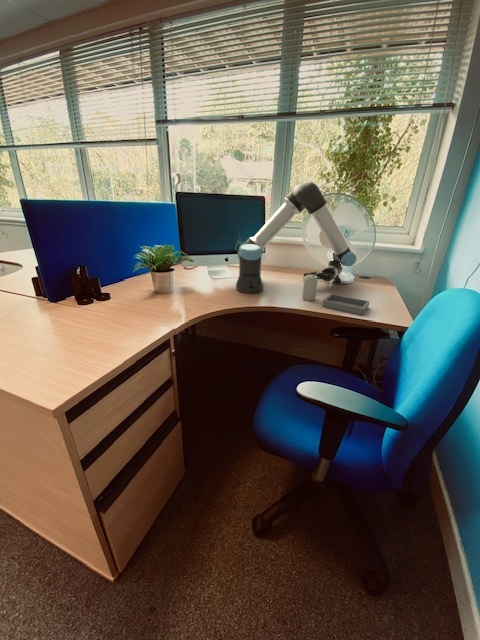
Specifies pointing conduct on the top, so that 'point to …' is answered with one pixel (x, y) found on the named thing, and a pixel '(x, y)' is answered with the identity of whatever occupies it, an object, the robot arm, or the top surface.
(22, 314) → the top surface
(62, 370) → the top surface
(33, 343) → the top surface
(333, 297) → the tray
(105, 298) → the top surface
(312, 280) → the beverage can
